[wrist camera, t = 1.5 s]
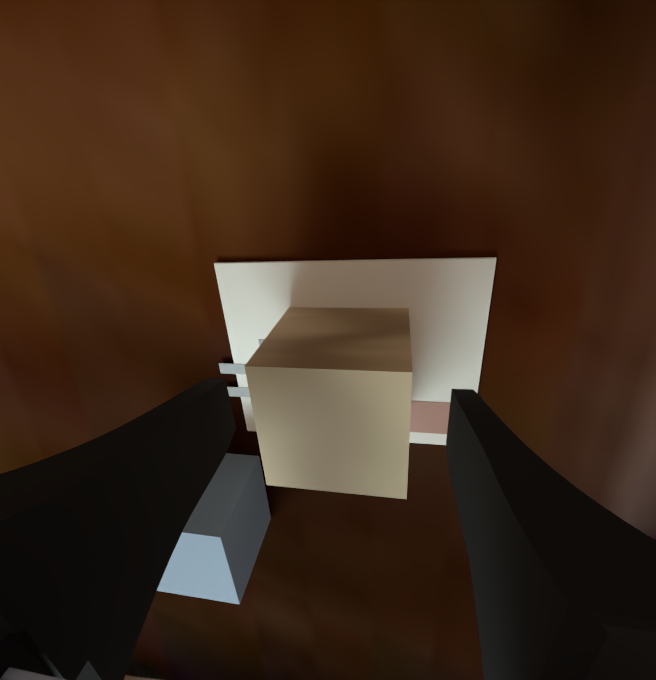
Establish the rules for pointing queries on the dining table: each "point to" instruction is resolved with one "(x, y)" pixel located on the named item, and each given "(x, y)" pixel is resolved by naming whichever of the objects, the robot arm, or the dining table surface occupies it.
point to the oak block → (335, 400)
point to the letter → (372, 292)
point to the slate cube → (221, 534)
